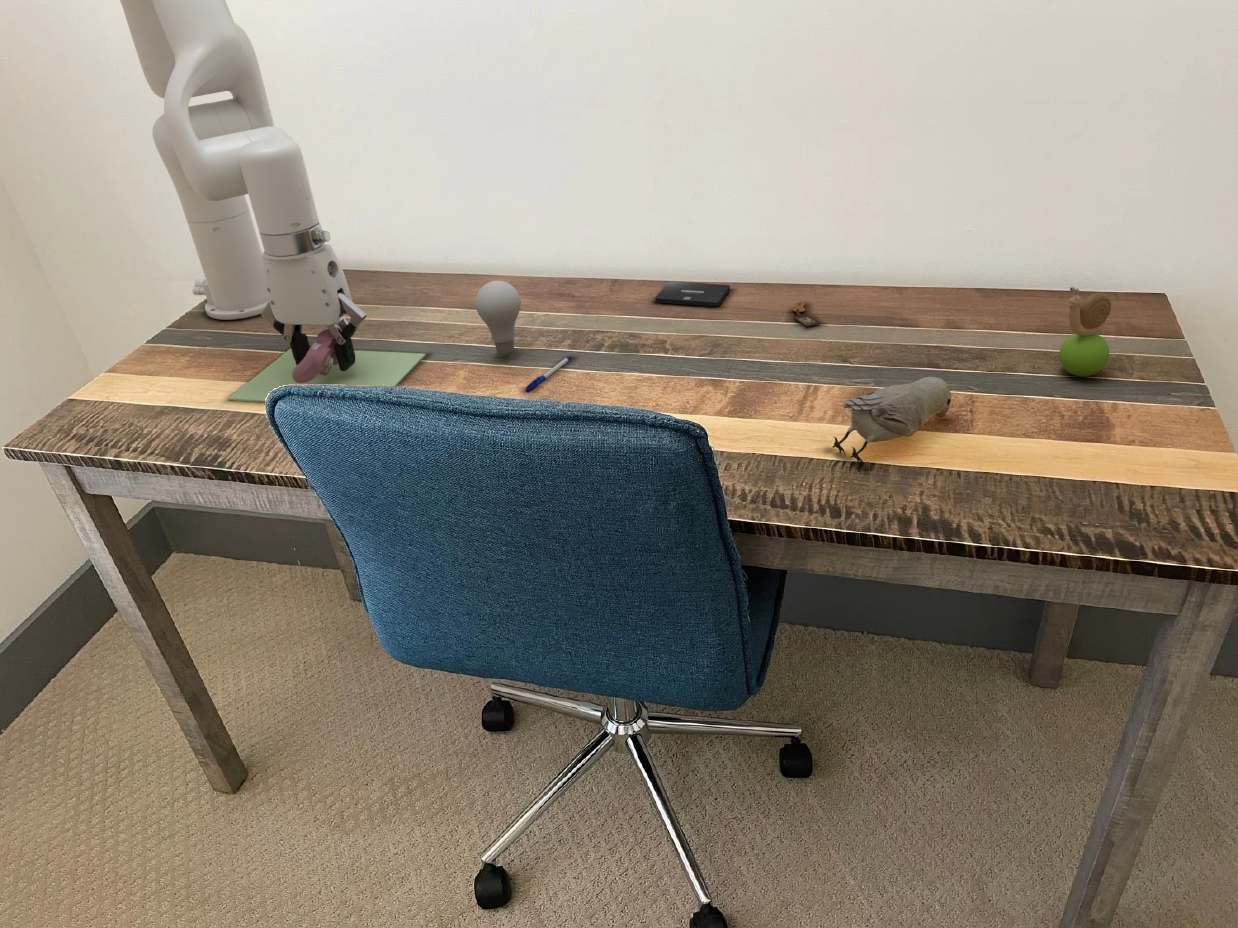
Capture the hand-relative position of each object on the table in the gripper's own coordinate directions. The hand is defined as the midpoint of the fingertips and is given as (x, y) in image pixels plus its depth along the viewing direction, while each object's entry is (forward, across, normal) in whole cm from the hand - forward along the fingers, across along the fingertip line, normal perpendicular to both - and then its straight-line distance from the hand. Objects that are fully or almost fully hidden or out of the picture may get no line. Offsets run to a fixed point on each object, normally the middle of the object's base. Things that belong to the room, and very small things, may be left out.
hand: (326, 364), depth 133 cm
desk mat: (+2, 0, 0) cm, 2 cm away
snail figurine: (+2, -97, -11) cm, 98 cm away
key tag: (+2, -63, -26) cm, 68 cm away
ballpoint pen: (+2, -31, -4) cm, 31 cm away
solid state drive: (+2, -45, -32) cm, 55 cm away
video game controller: (+1, 0, 0) cm, 1 cm away
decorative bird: (+2, -76, +7) cm, 76 cm away
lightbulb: (+2, -23, -9) cm, 25 cm away
